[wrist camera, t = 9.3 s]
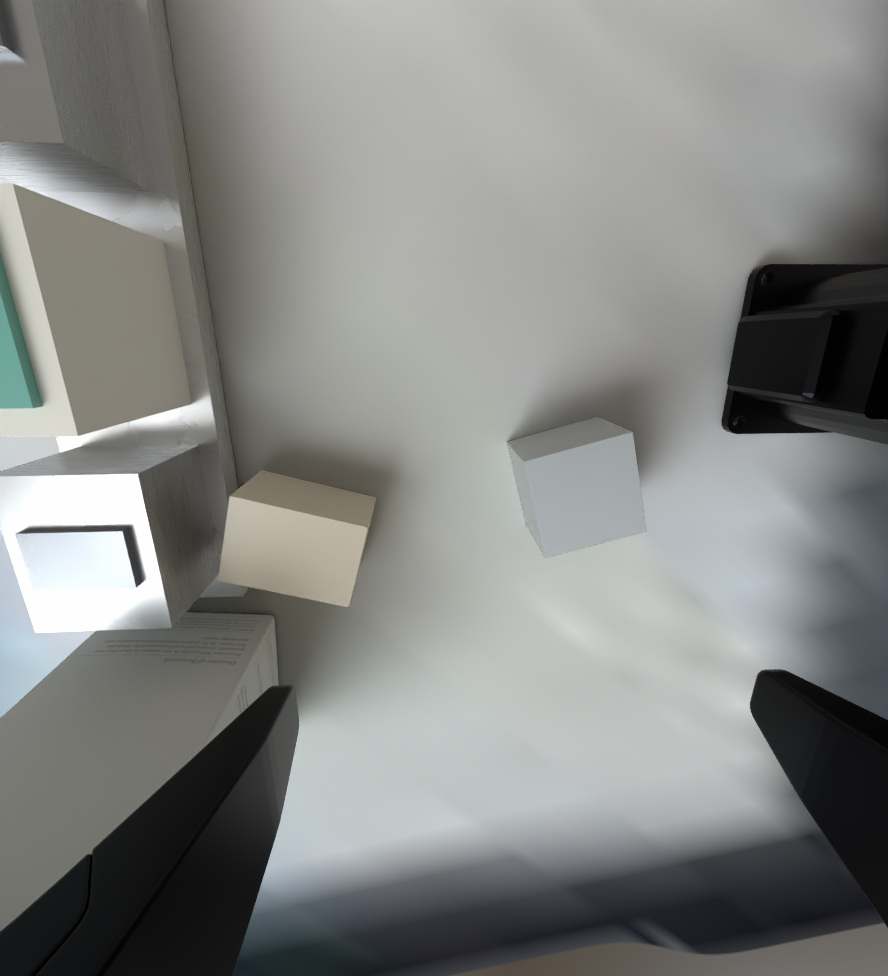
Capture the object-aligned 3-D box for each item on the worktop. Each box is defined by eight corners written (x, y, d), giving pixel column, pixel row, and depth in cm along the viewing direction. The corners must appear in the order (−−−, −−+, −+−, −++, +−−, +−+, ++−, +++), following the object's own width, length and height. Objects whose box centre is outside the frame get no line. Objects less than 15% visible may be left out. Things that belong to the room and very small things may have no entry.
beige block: (376, 496, 20) (367, 527, 17) (360, 565, 21) (348, 607, 18) (262, 469, 19) (229, 495, 16) (251, 541, 20) (217, 580, 17)
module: (163, 241, 15) (0, 178, 9) (191, 404, 17) (69, 438, 11) (25, 240, 15) (-231, 176, 9) (68, 405, 17) (-125, 441, 11)
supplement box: (115, 605, 21) (-295, 962, 9) (279, 611, 21) (100, 955, 9) (136, 730, 23) (-168, 1149, 11) (284, 733, 24) (144, 1136, 12)
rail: (156, -46, 14) (-1, -274, 9) (252, 582, 21) (196, 663, 16) (-47, -53, 14) (-333, -293, 9) (118, 586, 21) (15, 670, 15)
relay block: (596, 416, 19) (632, 431, 16) (610, 500, 21) (646, 531, 17) (506, 441, 20) (523, 461, 16) (525, 523, 21) (545, 558, 17)
